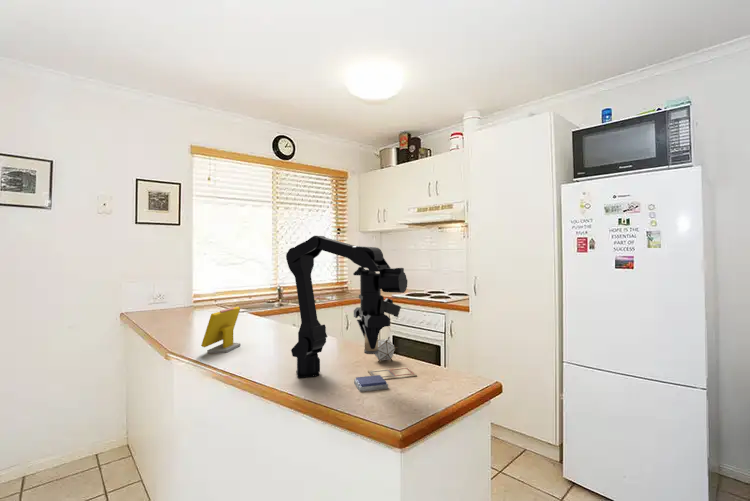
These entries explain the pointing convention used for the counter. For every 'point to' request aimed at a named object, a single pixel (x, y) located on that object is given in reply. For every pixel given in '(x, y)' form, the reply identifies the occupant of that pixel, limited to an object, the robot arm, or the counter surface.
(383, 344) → the game die
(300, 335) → the robot arm
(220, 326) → the toy computer monitor
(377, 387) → the ink pad
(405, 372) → the card sheet
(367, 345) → the stamp
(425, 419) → the counter surface
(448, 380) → the counter surface
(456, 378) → the counter surface
